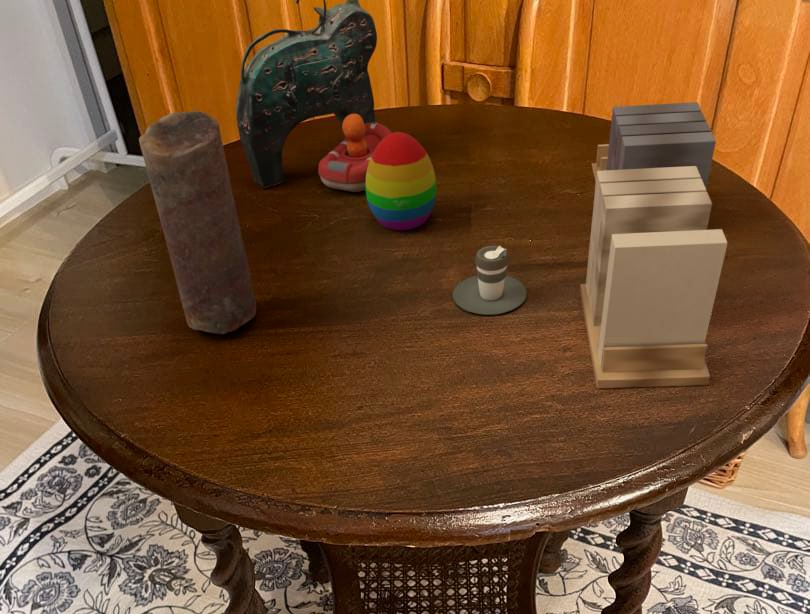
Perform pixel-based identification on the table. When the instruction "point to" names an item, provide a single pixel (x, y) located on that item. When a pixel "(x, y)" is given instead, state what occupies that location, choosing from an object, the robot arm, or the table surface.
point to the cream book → (660, 288)
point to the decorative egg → (400, 182)
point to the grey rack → (657, 139)
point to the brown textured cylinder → (199, 220)
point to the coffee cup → (490, 285)
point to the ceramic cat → (304, 83)
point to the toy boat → (352, 155)
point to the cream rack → (612, 214)
